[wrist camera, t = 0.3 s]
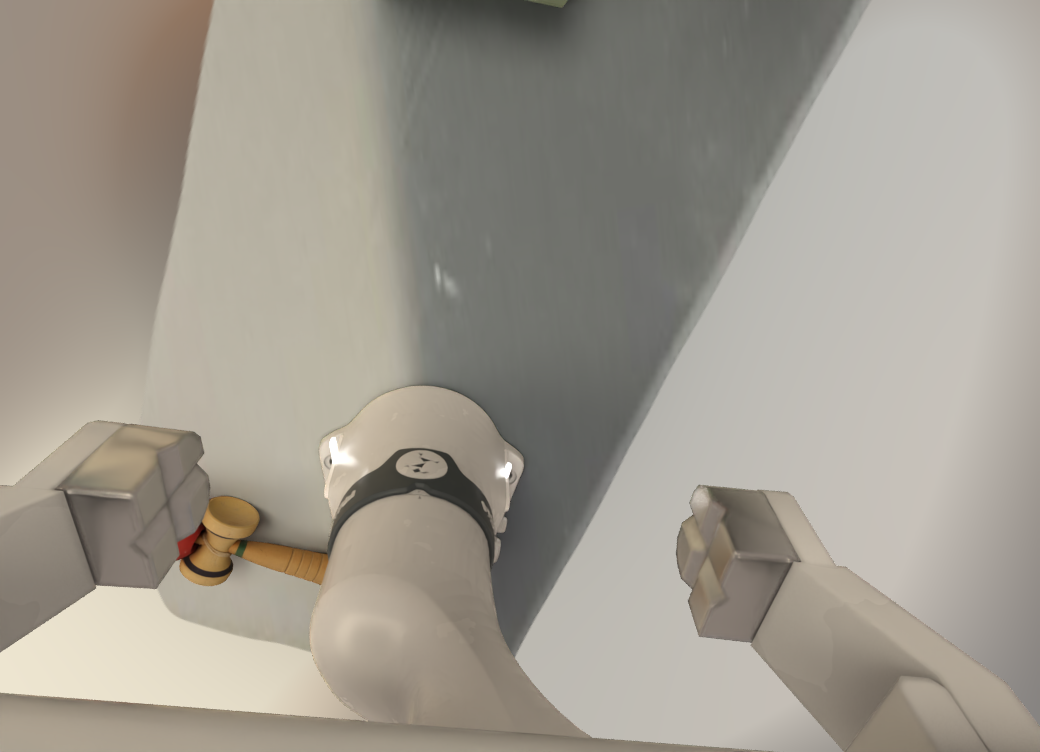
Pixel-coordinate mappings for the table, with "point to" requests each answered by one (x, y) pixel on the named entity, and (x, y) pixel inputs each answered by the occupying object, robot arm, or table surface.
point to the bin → (551, 2)
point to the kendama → (239, 547)
